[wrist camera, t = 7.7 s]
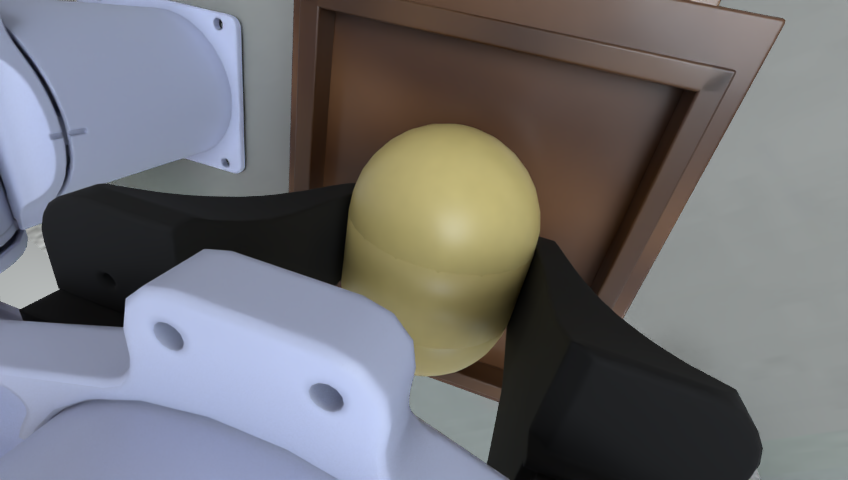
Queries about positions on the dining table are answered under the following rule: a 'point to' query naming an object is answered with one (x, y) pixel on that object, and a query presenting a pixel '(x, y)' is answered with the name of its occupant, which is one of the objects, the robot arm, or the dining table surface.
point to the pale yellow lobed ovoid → (443, 240)
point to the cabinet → (541, 108)
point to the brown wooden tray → (393, 7)
